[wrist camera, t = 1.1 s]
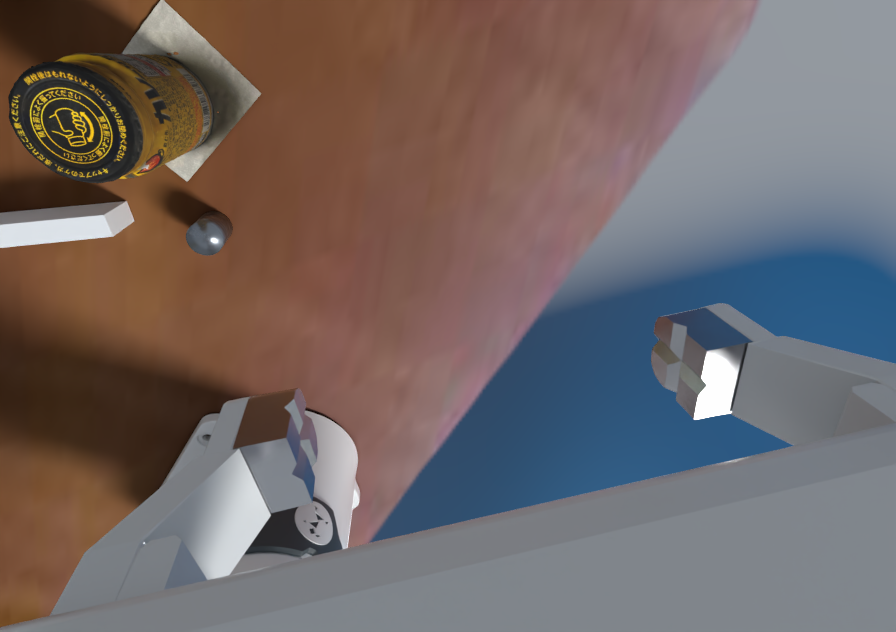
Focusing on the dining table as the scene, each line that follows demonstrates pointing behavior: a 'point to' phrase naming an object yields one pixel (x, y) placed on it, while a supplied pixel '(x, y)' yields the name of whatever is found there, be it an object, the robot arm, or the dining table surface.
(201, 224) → the cylinder
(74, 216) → the holder
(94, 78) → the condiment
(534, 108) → the dining table surface
